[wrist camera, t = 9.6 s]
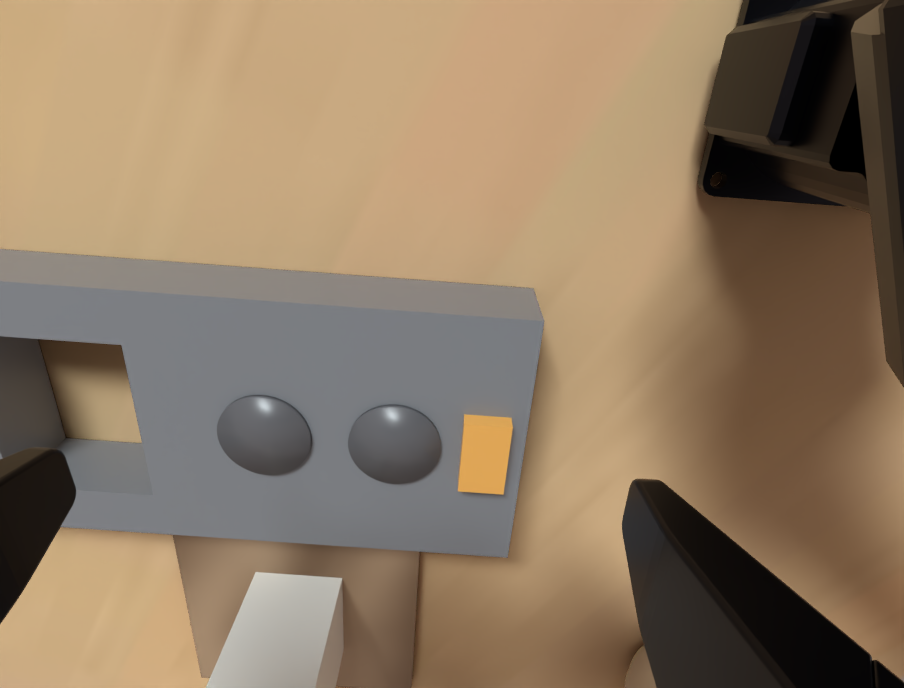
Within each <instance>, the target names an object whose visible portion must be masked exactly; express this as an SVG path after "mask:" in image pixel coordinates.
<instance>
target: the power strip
mask: <svg viewBox="0 0 904 688" xmlns="http://www.w3.org/2000/svg"><path fill="white" fill-rule="evenodd" d="M543 326H544V319H543V316H542V313H541V310H540V307H539V304H538V301H537V298H536V295H535V292H534V289H533V288H521V287H508V286H494V285H481V284H467V283H454V282H440V281H426V280H413V279H399V278H386V277H372V276H359V275H345V274H332V273H318V272H304V271H291V270H277V269H264V268H250V267H237V266H223V265H210V264H196V263H182V262H169V261H155V260H142V259H128V258H115V257H101V256H88V255H74V254H60V253H47V252H33V251H20V250H6V249H0V459H2V458H5V457H7V456H10V455H12V454H15V453H17V452H19V451H22V450H24V449H27V448H31V447H48V448H57V449H60V450H61V451H62V452H63V453H64V455H65V457H66V460H67V463H68V466H69V469H70V471H71V474H72V477H73V480H74V483H75V486H76V498H75V501H74V504H73V506H72V508H71V509H70V511H69V513H68V515H67V516H66V518H65V520H64V522H63V523H62V525H61V527H69V528H83V529H98V530H112V531H127V532H141V533H156V534H171V535H185V536H200V537H214V538H229V539H243V540H258V541H273V542H287V543H302V544H316V545H331V546H345V547H360V548H375V549H389V550H404V551H418V552H433V553H447V554H462V555H476V556H491V557H506V558H508V552H509V545H510V539H511V533H512V526H513V520H514V513H515V507H516V500H517V494H518V487H519V481H520V475H521V468H522V462H523V455H524V449H525V442H526V436H527V429H528V423H529V417H530V410H531V404H532V397H533V391H534V384H535V378H536V371H537V365H538V359H539V352H540V346H541V339H542V333H543ZM38 339H45V340H59V341H73V342H87V343H101V344H114V345H121V346H122V350H123V355H124V360H125V364H126V369H127V374H128V379H129V383H130V388H131V393H132V397H133V402H134V407H135V412H136V416H137V421H138V426H139V430H140V435H141V440H142V443H128V442H114V441H100V440H85V439H71V438H66V437H65V433H64V430H63V426H62V423H61V419H60V416H59V412H58V409H57V405H56V402H55V398H54V395H53V391H52V388H51V384H50V380H49V377H48V373H47V370H46V366H45V363H44V359H43V356H42V352H41V349H40V345H39V342H38Z"/></svg>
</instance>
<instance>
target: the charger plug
mask: <svg viewBox="0 0 904 688" xmlns="http://www.w3.org/2000/svg"><path fill="white" fill-rule="evenodd" d="M343 650H344V641H343V590H342V578H334V577H320V576H306V575H291V574H277V573H263V572H255V575H254V577H253V579H252V582H251V584H250V586H249V589H248V591H247V593H246V596H245V598H244V600H243V603H242V605H241V607H240V609H239V612H238V614H237V616H236V619H235V621H234V623H233V626H232V628H231V630H230V633H229V635H228V637H227V640H226V642H225V644H224V647H223V649H222V651H221V654H220V656H219V658H218V661H217V663H216V665H215V668H214V670H213V672H212V675H211V677H210V679H209V682H208V684H207V686H206V688H335V687H336V683H337V678H338V673H339V669H340V664H341V659H342V655H343Z"/></svg>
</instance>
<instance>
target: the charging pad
mask: <svg viewBox="0 0 904 688" xmlns="http://www.w3.org/2000/svg"><path fill="white" fill-rule="evenodd" d="M173 538H174V543H175V548H176V553H177V558H178V563H179V568H180V573H181V578H182V583H183V588H184V593H185V598H186V603H187V608H188V613H189V618H190V623H191V628H192V633H193V638H194V643H195V648H196V653H197V658H198V663H199V668H200V673H201V677H202V678H210V677H211V675H212V672H213V670H214V668H215V665H216V663H217V661H218V658H219V656H220V654H221V651H222V649H223V647H224V644H225V642H226V640H227V637H228V635H229V633H230V630H231V628H232V626H233V623H234V621H235V619H236V616H237V614H238V612H239V609H240V607H241V605H242V603H243V600H244V598H245V596H246V593H247V591H248V589H249V586H250V584H251V582H252V579H253V577H254V575H255V572H263V573H277V574H291V575H306V576H320V577H334V578H342V590H343V641H344V650H343V655H342V659H341V664H340V669H339V673H338V678H337V683H336V686H339V687H354V688H411V687H412V673H413V657H414V640H415V623H416V607H417V590H418V574H419V557H420V552H418V551H404V550H389V549H375V548H360V547H345V546H331V545H316V544H302V543H287V542H273V541H258V540H243V539H229V538H214V537H200V536H185V535H173Z"/></svg>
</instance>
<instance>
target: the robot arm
mask: <svg viewBox="0 0 904 688" xmlns="http://www.w3.org/2000/svg"><path fill="white" fill-rule="evenodd" d="M704 125H705V127H706V129H707V130H708V132H709V136H708V140H707V144H706V148H705V152H704V156H703V160H702V164H701V168H700V172H699V176H698V185H699V188H700V189H701V190H702V191H703V192H704V193H706V194H708V195H712V196H717V197H730V198H744V199H757V200H770V201H783V202H796V203H810V204H823V205H836V206H848V207H852V208H855V209H858V210H861V211H864V212H867V213H870V215H871V224H872V233H873V243H874V252H875V261H876V270H877V280H878V289H879V298H880V307H881V317H882V326H883V335H884V344H885V354H886V361H887V363H888V364H889V366H890V367H891V369H892V370H893V372H894V373H895V375H896V376H897V378H898V379H899V381H900V382H901V384H902V385H903V387H904V0H743V3H742V7H741V11H740V15H739V19H738V23H737V27H736V28H735V29H734V30H733V31H731V32H730V33H729V34H728V35H727V36H726V39H725V43H724V47H723V51H722V55H721V59H720V63H719V67H718V71H717V75H716V79H715V83H714V87H713V91H712V95H711V99H710V103H709V107H708V111H707V115H706V119H705V124H704ZM717 172H720V173H721V181H720V182H719V183H718V184H717V185H716V186H712V185H711V184H710V180H711V178H712V176H713V175H714V174H715V173H717ZM75 498H76V486H75V483H74V480H73V477H72V474H71V471H70V469H69V466H68V463H67V460H66V457H65V455H64V453H63V452H62V451H61V450H60V449H57V448H48V447H31V448H27V449H24V450H22V451H19V452H17V453H15V454H12V455H10V456H7V457H5V458H2V459H0V624H1V622H2V621H3V620H4V618H5V617H6V615H7V614H8V613H9V611H10V610H11V608H12V607H13V605H14V604H15V602H16V601H17V599H18V598H19V596H20V595H21V593H22V592H23V590H24V588H25V587H26V585H27V584H28V582H29V580H30V579H31V577H32V575H33V573H34V572H35V570H36V568H37V567H38V565H39V563H40V561H41V560H42V558H43V556H44V554H45V553H46V551H47V549H48V548H49V546H50V544H51V542H52V541H53V539H54V537H55V535H56V534H57V532H58V530H59V528H60V527H61V525H62V523H63V522H64V520H65V518H66V516H67V515H68V513H69V511H70V509H71V508H72V506H73V504H74V501H75ZM622 533H623V539H624V545H625V550H626V556H627V562H628V567H629V573H630V578H631V584H632V590H633V595H634V601H635V607H636V612H637V618H638V623H639V628H640V632H641V636H642V639H643V643H644V647H645V650H646V654H647V657H648V660H649V664H650V667H651V671H652V674H653V677H654V681H655V684H656V688H904V682H903V681H902V680H901V679H900V678H898V677H897V676H896V675H895V674H894V673H892V672H891V671H890V670H889V669H888V668H886V667H885V666H884V665H883V664H881V663H880V662H879V661H877V660H873V661H872V657H871V655H870V654H869V653H868V652H867V651H866V650H864V649H863V648H862V647H861V646H860V645H858V644H857V643H856V642H855V641H853V640H852V639H851V638H850V637H849V636H847V635H846V634H845V633H844V632H843V631H841V630H840V629H839V628H838V627H837V626H835V625H834V624H833V623H832V622H831V621H829V620H828V619H827V618H826V617H825V616H823V615H822V614H821V613H820V612H819V611H817V610H816V609H815V608H814V607H813V606H811V605H810V604H809V603H808V602H807V601H805V600H804V599H803V598H802V597H801V596H799V595H798V594H797V593H796V592H795V591H793V590H792V589H791V588H790V587H788V586H787V585H786V584H785V583H784V582H782V581H781V580H780V579H779V578H778V577H776V576H775V575H774V574H773V573H772V572H770V571H769V570H768V569H767V568H766V567H764V566H763V565H762V564H761V563H760V562H758V561H757V560H756V559H755V558H754V557H752V556H751V555H750V554H749V553H748V552H746V551H745V550H744V549H743V548H742V547H740V546H739V545H738V544H737V543H736V542H734V541H733V540H732V539H731V538H729V537H728V536H727V535H726V534H725V533H723V532H722V531H721V530H720V529H719V528H717V527H716V526H715V525H714V524H713V523H711V522H710V521H709V520H708V519H707V518H705V517H704V516H703V515H702V514H701V513H699V512H698V511H697V510H696V509H695V508H693V507H692V506H691V505H690V504H689V503H687V502H686V501H685V500H684V499H683V498H681V497H680V496H679V495H678V494H677V493H675V492H674V491H673V490H672V489H671V488H669V487H668V486H667V485H666V484H664V483H663V482H662V481H660V480H652V479H635V480H633V481H632V483H631V485H630V488H629V493H628V497H627V501H626V506H625V510H624V515H623V520H622Z"/></svg>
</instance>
